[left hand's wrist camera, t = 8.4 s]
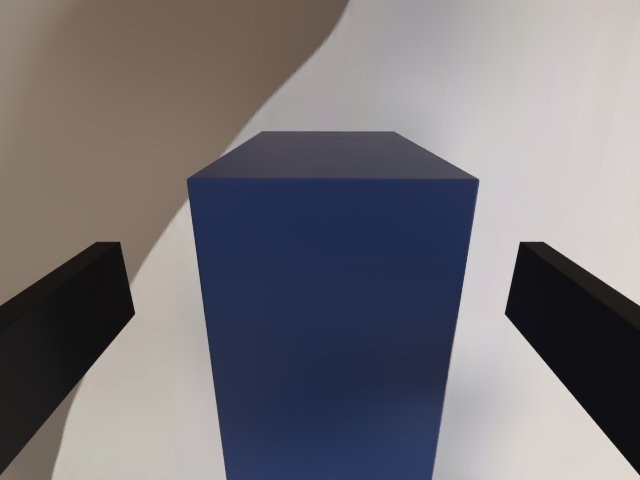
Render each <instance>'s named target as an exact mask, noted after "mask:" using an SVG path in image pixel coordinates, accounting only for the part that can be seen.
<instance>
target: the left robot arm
mask: <svg viewBox="0 0 640 480" xmlns="http://www.w3.org/2000/svg"><path fill="white" fill-rule="evenodd" d="M134 315H135V311H134V306H133V301H132V296H131V292H130V287H129V282H128V278H127V273H126V268H125V264H124V259H123V254H122V249H121V245H120V242H96V243H94V244H93V245H91V246H90V247H88V248H87V249H85V250H84V251H82V252H81V253H79V254H78V255H76V256H75V257H73V258H72V259H70V260H69V261H67V262H66V263H64V264H63V265H61V266H60V267H58V268H57V269H55V270H54V271H52V272H51V273H49V274H48V275H46V276H45V277H43V278H42V279H40V280H39V281H37V282H36V283H34V284H33V285H31V286H30V287H28V288H27V289H25V290H24V291H22V292H21V293H19V294H18V295H16V296H15V297H13V298H12V299H10V300H9V301H7V302H6V303H4V304H3V305H1V306H0V475H1V474H2V473H3V471H4V470H5V469H6V468H7V467H8V465H9V464H10V463H11V462H12V461H13V459H14V458H15V457H16V456H17V455H18V454H19V452H20V451H21V450H22V449H23V447H24V446H25V445H26V444H27V443H28V442H29V440H30V439H31V438H32V437H33V436H34V434H35V433H36V432H37V431H38V430H39V428H40V427H41V426H42V425H43V424H44V422H45V421H46V420H47V419H48V418H49V416H50V415H51V414H52V413H53V412H54V410H55V409H56V408H57V407H58V406H59V404H60V403H61V402H62V401H63V400H64V399H65V397H66V396H67V395H68V394H69V392H70V391H71V390H72V389H73V388H74V387H75V385H76V384H77V383H78V382H79V380H80V379H81V378H82V377H83V376H84V375H85V373H86V372H87V371H88V370H89V369H90V367H91V366H92V365H93V364H94V363H95V361H96V360H97V359H98V358H99V357H100V355H101V354H102V353H103V352H104V351H105V349H106V348H107V347H108V346H109V345H110V343H111V342H112V341H113V340H114V339H115V338H116V336H117V335H118V334H119V333H120V332H121V330H122V329H123V328H124V327H125V326H126V324H127V323H128V322H129V321H130V320H131V318H132V317H133V316H134ZM505 315H506V316H507V317H508V318H509V320H510V321H511V322H512V323H513V324H514V326H515V327H516V328H517V329H518V330H519V332H520V333H521V334H522V335H523V336H524V338H525V339H526V340H527V341H528V342H529V343H530V345H531V346H532V347H533V348H534V349H535V351H536V352H537V353H538V354H539V355H540V357H541V358H542V359H543V360H544V361H545V363H546V364H547V365H548V366H549V367H550V369H551V370H552V371H553V372H554V373H555V375H556V376H557V377H558V378H559V379H560V381H561V382H562V383H563V384H564V385H565V387H566V388H567V389H568V390H569V391H570V393H571V394H572V395H573V396H574V397H575V399H576V400H577V401H578V402H579V403H580V404H581V406H582V407H583V408H584V409H585V410H586V412H587V413H588V414H589V415H590V416H591V418H592V419H593V420H594V421H595V422H596V424H597V425H598V426H599V427H600V428H601V430H602V431H603V432H604V433H605V434H606V436H607V437H608V438H609V439H610V440H611V442H612V443H613V444H614V445H615V446H616V448H617V449H618V450H619V451H620V452H621V454H622V455H623V456H624V457H625V458H626V460H627V461H628V462H629V463H630V464H631V465H632V467H633V468H634V469H635V470H636V471H637V473H638V474H639V475H640V306H639V305H637V304H636V303H634V302H633V301H631V300H630V299H628V298H627V297H625V296H624V295H622V294H621V293H619V292H618V291H616V290H615V289H613V288H612V287H610V286H609V285H607V284H606V283H604V282H603V281H601V280H600V279H598V278H597V277H595V276H594V275H592V274H591V273H589V272H588V271H586V270H585V269H583V268H582V267H580V266H579V265H577V264H576V263H574V262H573V261H571V260H570V259H568V258H567V257H565V256H564V255H562V254H561V253H559V252H558V251H556V250H555V249H553V248H552V247H550V246H549V245H547V244H546V243H544V242H520V245H519V249H518V254H517V259H516V263H515V268H514V273H513V278H512V282H511V287H510V292H509V296H508V301H507V306H506V311H505Z"/></svg>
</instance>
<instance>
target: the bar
mask: <svg viewBox="0 0 640 480" xmlns="http://www.w3.org/2000/svg"><path fill="white" fill-rule="evenodd" d="M187 186H188V193H189V201H190V208H191V216H192V223H193V231H194V238H195V246H196V253H197V261H198V268H199V276H200V283H201V291H202V298H203V306H204V313H205V321H206V328H207V336H208V343H209V351H210V358H211V366H212V373H213V381H214V388H215V396H216V403H217V411H218V418H219V426H220V433H221V441H222V448H223V456H224V463H225V471H226V478H227V480H432V475H433V469H434V463H435V457H436V450H437V444H438V438H439V431H440V425H441V419H442V413H443V406H444V400H445V394H446V387H447V381H448V375H449V369H450V362H451V356H452V350H453V344H454V337H455V331H456V325H457V318H458V312H459V306H460V300H461V293H462V287H463V281H464V275H465V268H466V262H467V256H468V249H469V243H470V237H471V231H472V224H473V218H474V212H475V205H476V199H477V193H478V187H479V179H477V178H476V177H474V176H472V175H470V174H468V173H467V172H465V171H463V170H461V169H460V168H458V167H456V166H454V165H452V164H451V163H449V162H447V161H445V160H444V159H442V158H440V157H438V156H436V155H435V154H433V153H431V152H429V151H428V150H426V149H424V148H422V147H420V146H419V145H417V144H415V143H413V142H412V141H410V140H408V139H406V138H404V137H403V136H401V135H399V134H397V133H396V132H293V131H262V132H260V133H259V134H257V135H256V136H254V137H253V138H251V139H249V140H248V141H246V142H245V143H243V144H242V145H240V146H238V147H237V148H235V149H234V150H232V151H230V152H229V153H227V154H226V155H224V156H223V157H221V158H219V159H218V160H216V161H215V162H213V163H212V164H210V165H208V166H207V167H205V168H204V169H202V170H200V171H199V172H197V173H196V174H194V175H193V176H191V177H189V178H188V179H187Z"/></svg>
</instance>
